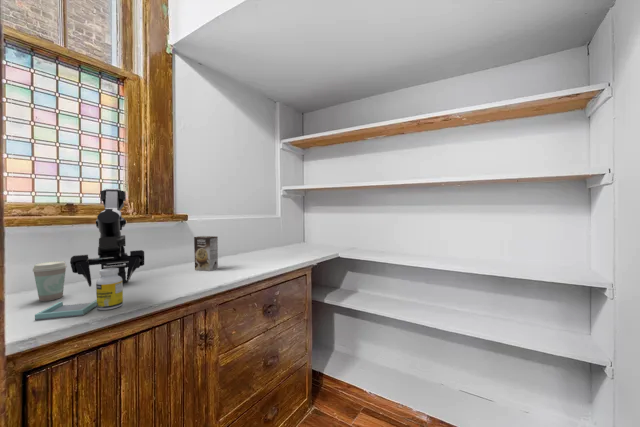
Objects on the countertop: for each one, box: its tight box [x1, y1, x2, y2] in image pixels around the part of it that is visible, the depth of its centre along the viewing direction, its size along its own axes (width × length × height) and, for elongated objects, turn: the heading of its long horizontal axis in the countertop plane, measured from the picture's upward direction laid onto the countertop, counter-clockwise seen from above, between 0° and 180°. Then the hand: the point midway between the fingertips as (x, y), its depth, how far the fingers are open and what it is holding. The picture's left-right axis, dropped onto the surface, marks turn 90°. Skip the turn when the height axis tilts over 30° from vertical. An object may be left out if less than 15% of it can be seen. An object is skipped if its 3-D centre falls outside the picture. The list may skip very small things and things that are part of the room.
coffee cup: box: [32, 260, 68, 302], centre depth 96 cm, size 9×8×12 cm
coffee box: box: [193, 235, 219, 272], centre depth 138 cm, size 9×6×16 cm
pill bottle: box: [95, 268, 124, 311], centre depth 86 cm, size 6×6×12 cm
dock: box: [34, 299, 97, 321], centre depth 84 cm, size 11×11×2 cm
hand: (109, 283), depth 86 cm, fingers open, 9 cm apart
